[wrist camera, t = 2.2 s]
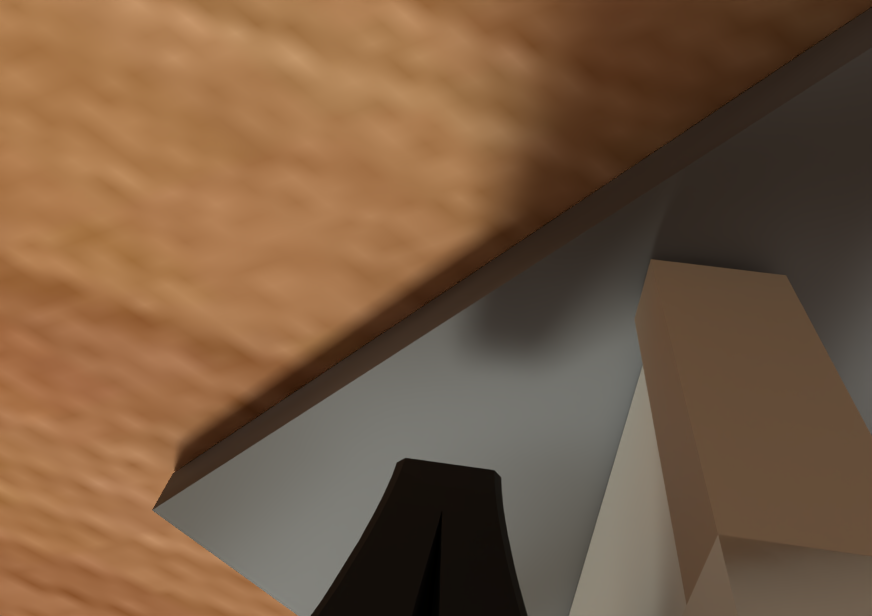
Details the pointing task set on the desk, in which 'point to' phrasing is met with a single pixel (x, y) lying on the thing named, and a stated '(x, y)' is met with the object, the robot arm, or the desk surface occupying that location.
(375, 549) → the robot arm
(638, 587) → the gate leaf
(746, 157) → the gate base
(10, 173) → the desk surface
